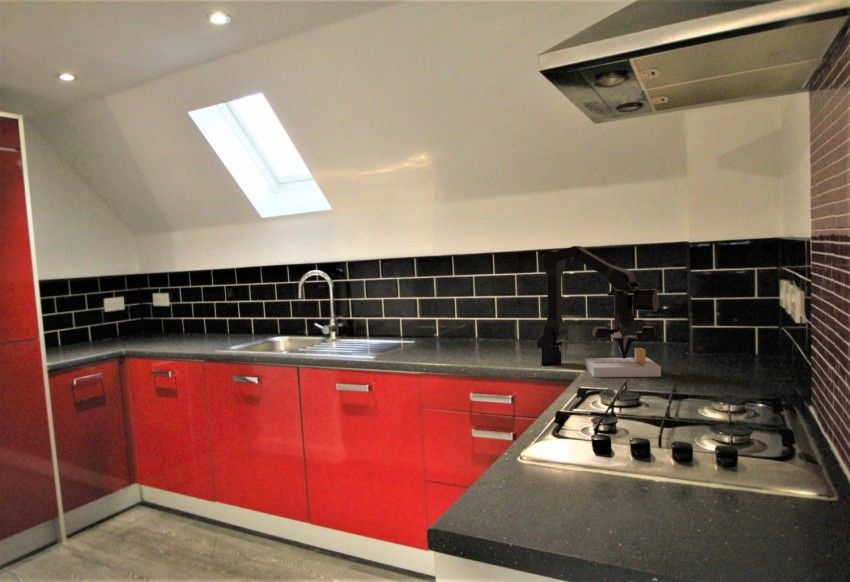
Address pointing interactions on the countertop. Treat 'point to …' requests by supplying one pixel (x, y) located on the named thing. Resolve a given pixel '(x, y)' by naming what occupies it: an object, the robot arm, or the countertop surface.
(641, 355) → the fader knob
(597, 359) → the console
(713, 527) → the countertop surface
